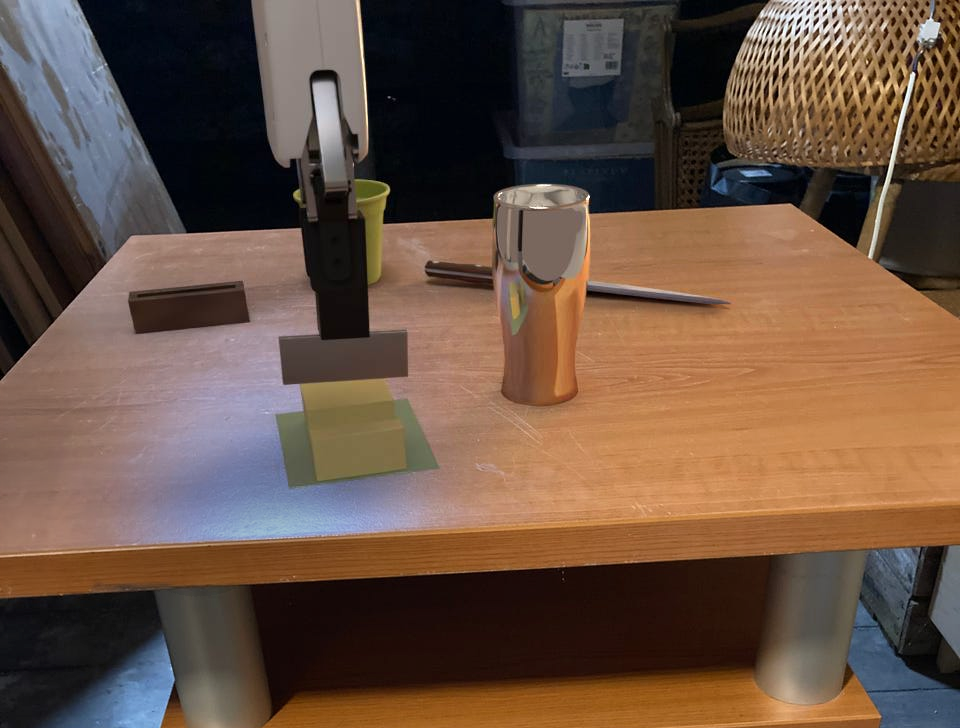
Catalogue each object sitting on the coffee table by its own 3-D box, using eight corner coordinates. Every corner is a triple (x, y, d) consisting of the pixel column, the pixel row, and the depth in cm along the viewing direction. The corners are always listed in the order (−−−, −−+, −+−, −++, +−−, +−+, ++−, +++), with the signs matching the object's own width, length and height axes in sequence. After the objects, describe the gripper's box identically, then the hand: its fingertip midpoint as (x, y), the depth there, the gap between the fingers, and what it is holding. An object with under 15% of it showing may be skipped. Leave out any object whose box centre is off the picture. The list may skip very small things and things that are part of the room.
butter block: (311, 451, 69) (306, 410, 67) (305, 421, 73) (299, 382, 71) (397, 440, 70) (393, 399, 68) (386, 411, 74) (382, 372, 72)
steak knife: (437, 265, 104) (437, 247, 103) (735, 297, 96) (738, 278, 95) (421, 281, 101) (420, 263, 100) (728, 317, 93) (731, 297, 92)
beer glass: (536, 376, 81) (538, 178, 72) (603, 400, 77) (613, 192, 68) (475, 403, 77) (469, 196, 68) (542, 429, 73) (544, 213, 64)
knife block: (135, 333, 92) (127, 301, 90) (136, 323, 94) (129, 291, 92) (249, 321, 93) (244, 289, 92) (248, 312, 96) (242, 280, 94)
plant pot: (339, 301, 97) (329, 207, 92) (287, 280, 103) (274, 191, 98) (414, 279, 102) (409, 189, 97) (361, 261, 108) (352, 174, 103)
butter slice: (317, 481, 65) (311, 439, 64) (314, 471, 66) (308, 430, 65) (407, 469, 66) (403, 427, 65) (402, 459, 68) (399, 418, 66)
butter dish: (291, 501, 65) (289, 488, 65) (277, 426, 75) (275, 413, 74) (440, 481, 67) (439, 467, 66) (408, 410, 76) (407, 397, 76)
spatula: (284, 390, 62) (268, 221, 56) (281, 378, 64) (266, 212, 58) (410, 381, 64) (408, 216, 58) (404, 370, 65) (402, 208, 59)
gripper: (215, -97, 54) (264, 251, 65) (225, -95, 42) (283, 334, 53) (352, -100, 56) (377, 242, 67) (400, -98, 43) (421, 320, 55)
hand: (335, 280), depth 60 cm, fingers closed on spatula, 1 cm apart
